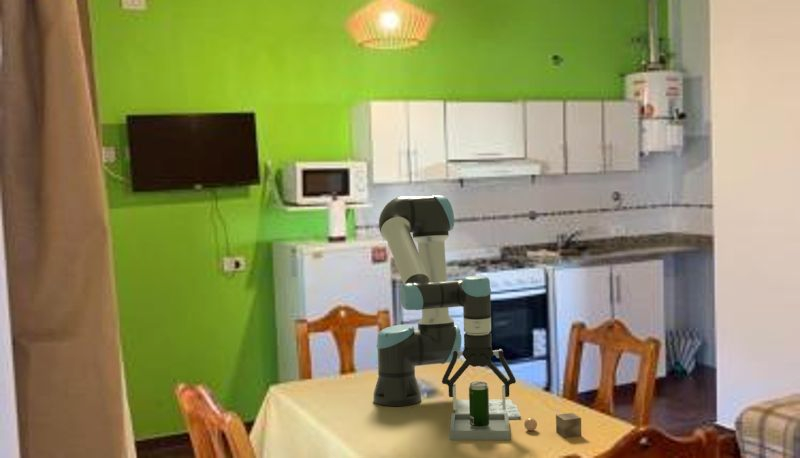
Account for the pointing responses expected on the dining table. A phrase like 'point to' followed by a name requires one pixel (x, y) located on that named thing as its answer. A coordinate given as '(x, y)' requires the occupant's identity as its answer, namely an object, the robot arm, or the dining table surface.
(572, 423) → the walnut block
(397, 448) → the dining table surface
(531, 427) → the terracotta ball
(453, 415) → the dish
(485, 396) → the beer can
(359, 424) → the dining table surface
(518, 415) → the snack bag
